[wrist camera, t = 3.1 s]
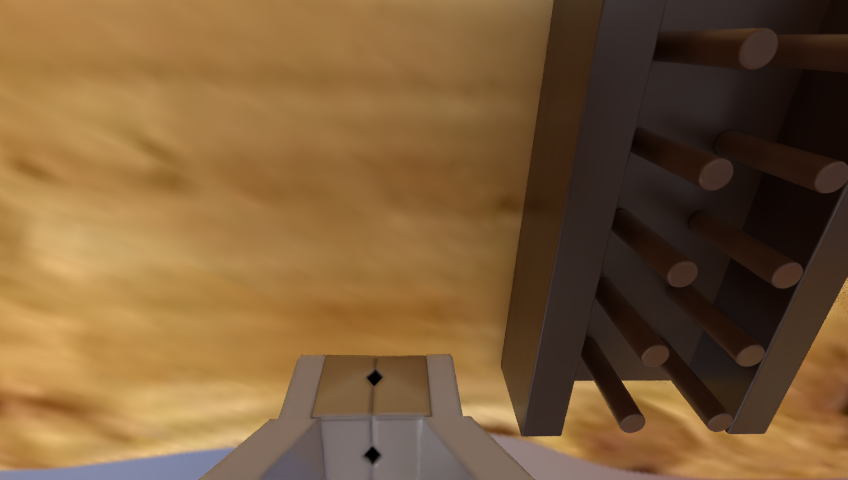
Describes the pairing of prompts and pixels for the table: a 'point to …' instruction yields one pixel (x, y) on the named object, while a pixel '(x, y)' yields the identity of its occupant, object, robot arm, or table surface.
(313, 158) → the table surface
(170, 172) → the table surface
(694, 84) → the rack
